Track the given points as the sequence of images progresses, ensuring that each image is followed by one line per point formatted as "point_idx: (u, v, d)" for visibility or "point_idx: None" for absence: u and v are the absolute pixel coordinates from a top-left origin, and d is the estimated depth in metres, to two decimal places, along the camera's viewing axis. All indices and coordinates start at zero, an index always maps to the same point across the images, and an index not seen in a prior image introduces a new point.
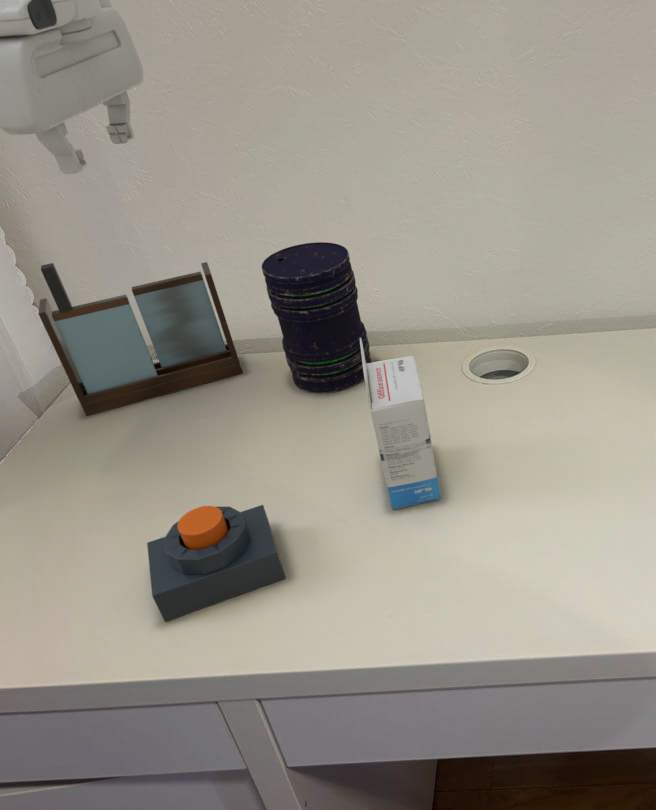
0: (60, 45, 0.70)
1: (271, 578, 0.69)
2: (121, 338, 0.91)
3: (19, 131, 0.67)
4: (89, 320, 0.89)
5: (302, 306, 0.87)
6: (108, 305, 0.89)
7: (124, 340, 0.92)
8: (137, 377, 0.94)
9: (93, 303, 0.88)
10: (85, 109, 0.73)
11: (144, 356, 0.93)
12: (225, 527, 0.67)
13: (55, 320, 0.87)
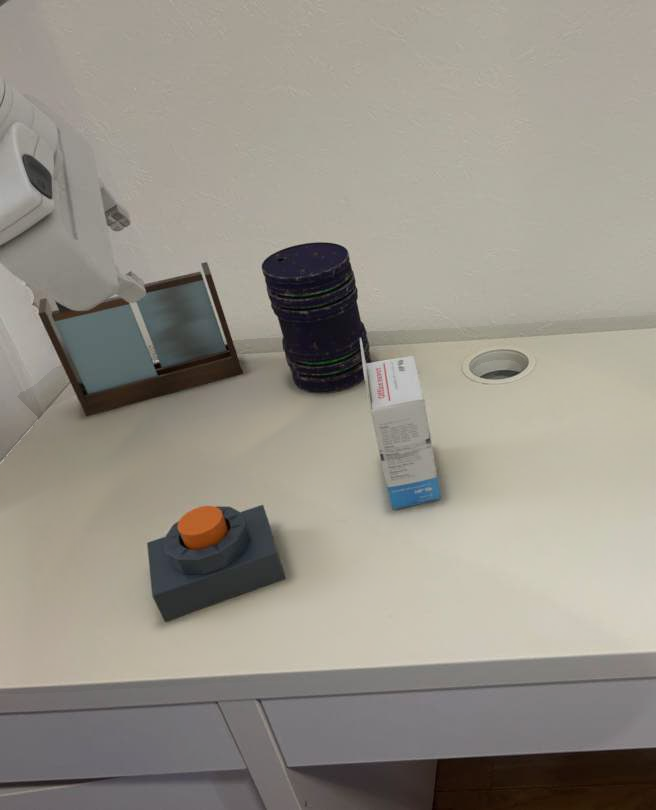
0: None
1: (271, 578, 0.69)
2: (121, 338, 0.91)
3: (99, 303, 0.61)
4: (89, 320, 0.89)
5: (302, 306, 0.87)
6: (108, 305, 0.89)
7: (124, 340, 0.92)
8: (137, 377, 0.94)
9: None
10: (107, 230, 0.65)
11: (144, 356, 0.93)
12: (225, 527, 0.67)
13: (55, 320, 0.87)
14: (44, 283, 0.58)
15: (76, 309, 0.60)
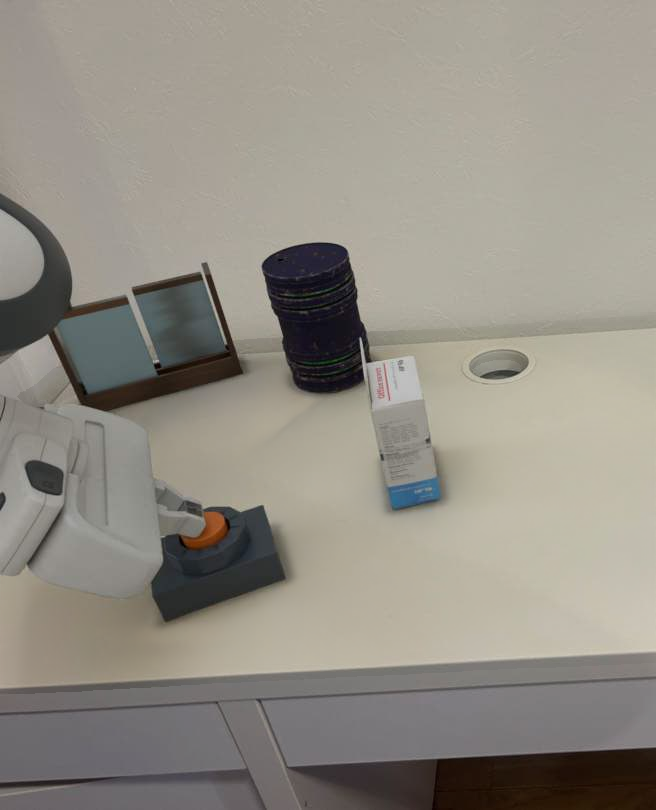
0: (81, 482, 0.58)
1: (271, 578, 0.69)
2: (121, 338, 0.91)
3: (147, 582, 0.56)
4: (89, 320, 0.89)
5: (302, 306, 0.87)
6: (108, 305, 0.89)
7: (124, 340, 0.92)
8: (137, 377, 0.94)
9: (93, 303, 0.88)
10: (155, 503, 0.62)
11: (144, 356, 0.93)
12: None
13: None
14: (82, 582, 0.54)
15: (126, 597, 0.56)
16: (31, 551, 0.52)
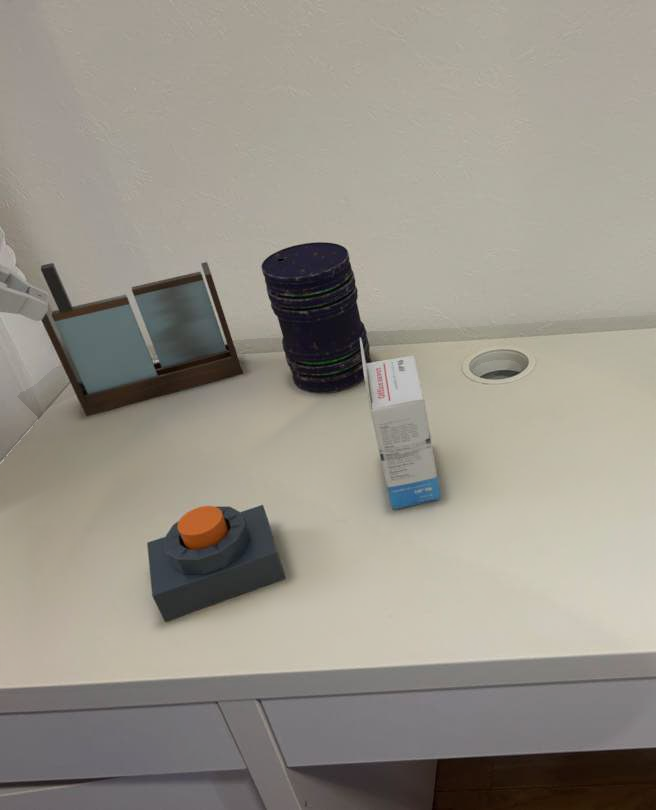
0: None
1: (271, 578, 0.69)
2: (121, 338, 0.91)
3: None
4: (89, 320, 0.89)
5: (302, 306, 0.87)
6: (108, 305, 0.89)
7: (124, 340, 0.92)
8: (137, 377, 0.94)
9: (93, 303, 0.88)
10: None
11: (144, 356, 0.93)
12: (225, 527, 0.67)
13: (55, 320, 0.87)
14: None
15: None
16: None
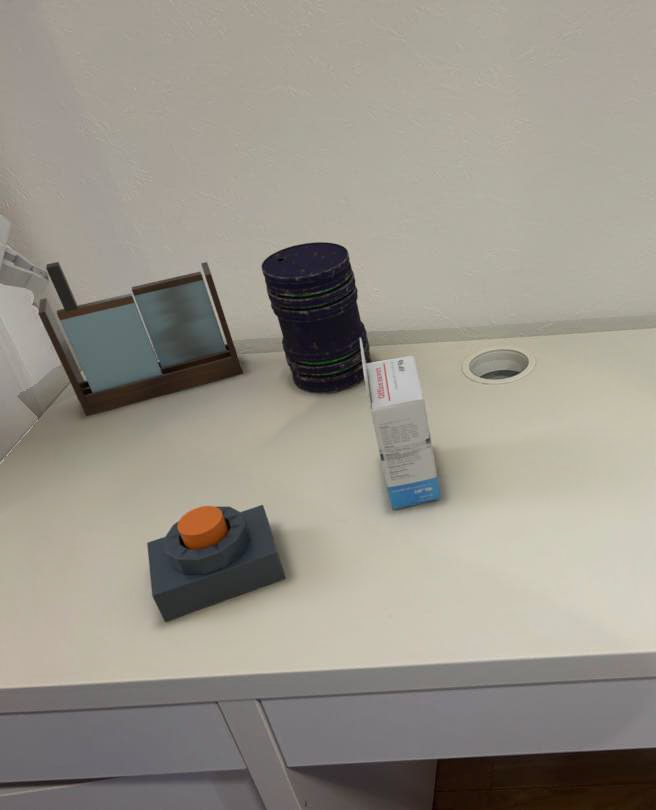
0: None
1: (271, 578, 0.69)
2: (126, 337, 0.91)
3: None
4: (94, 319, 0.89)
5: (302, 306, 0.87)
6: (113, 304, 0.89)
7: (129, 339, 0.92)
8: (142, 376, 0.94)
9: (98, 302, 0.89)
10: (1, 255, 0.80)
11: (149, 355, 0.94)
12: (225, 527, 0.67)
13: (60, 319, 0.87)
14: None
15: None
16: None
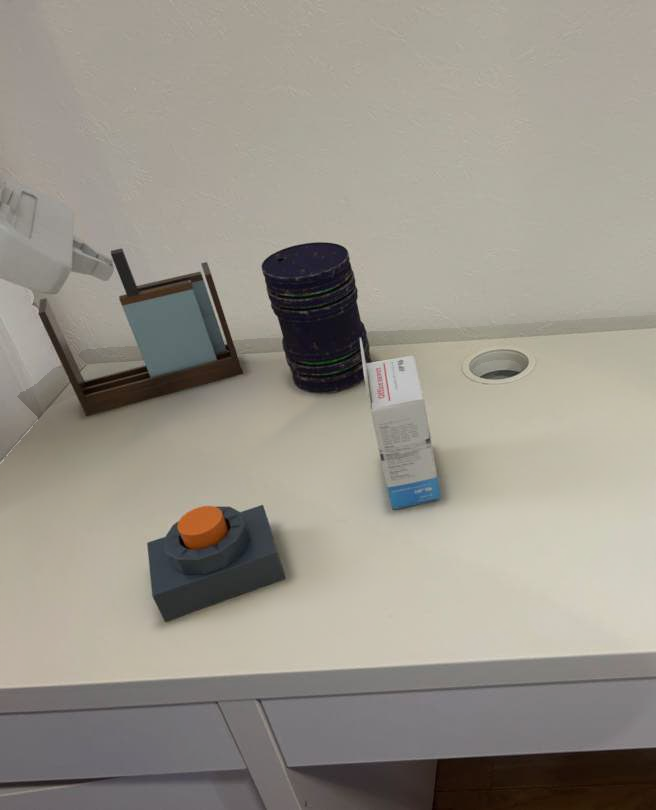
0: (13, 215, 0.79)
1: (271, 578, 0.69)
2: (184, 322, 0.94)
3: (59, 281, 0.77)
4: (154, 305, 0.91)
5: (302, 306, 0.87)
6: (173, 290, 0.91)
7: (187, 324, 0.94)
8: (198, 361, 0.97)
9: (159, 288, 0.91)
10: (71, 243, 0.83)
11: (206, 341, 0.96)
12: (225, 527, 0.67)
13: (123, 304, 0.90)
14: (10, 273, 0.75)
15: (44, 291, 0.77)
16: None
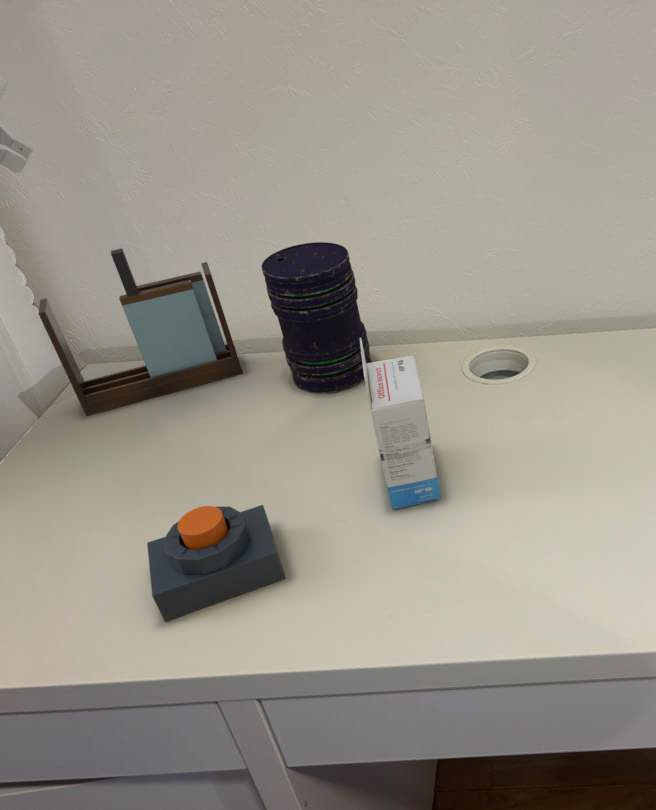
0: None
1: (271, 578, 0.69)
2: (184, 322, 0.94)
3: None
4: (154, 305, 0.91)
5: (302, 306, 0.87)
6: (173, 290, 0.91)
7: (187, 324, 0.94)
8: (198, 361, 0.97)
9: (159, 288, 0.91)
10: None
11: (206, 341, 0.96)
12: (225, 527, 0.67)
13: (123, 304, 0.90)
14: None
15: None
16: None
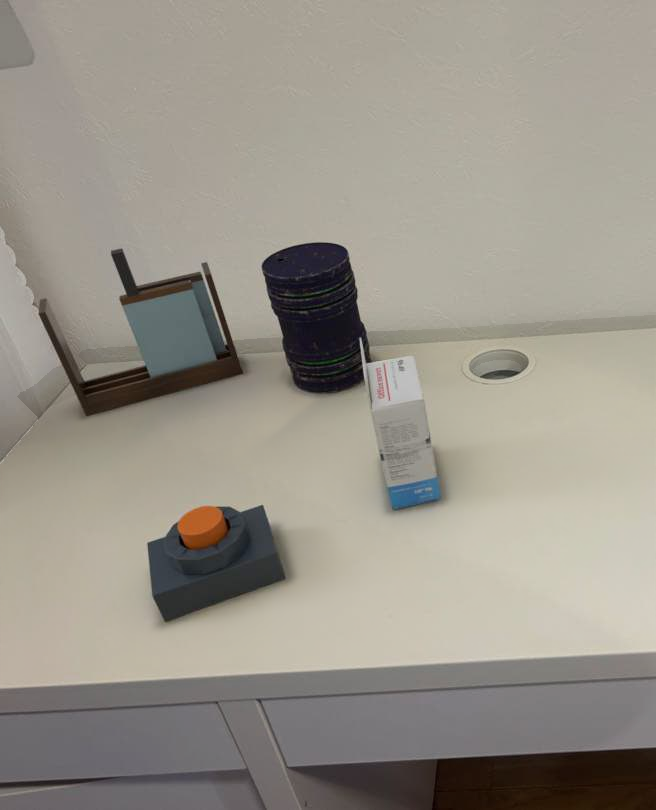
0: None
1: (271, 578, 0.69)
2: (184, 322, 0.94)
3: None
4: (154, 305, 0.91)
5: (302, 306, 0.87)
6: (173, 290, 0.91)
7: (187, 324, 0.94)
8: (198, 361, 0.97)
9: (159, 288, 0.91)
10: None
11: (206, 341, 0.96)
12: (225, 527, 0.67)
13: (123, 304, 0.90)
14: None
15: None
16: None
